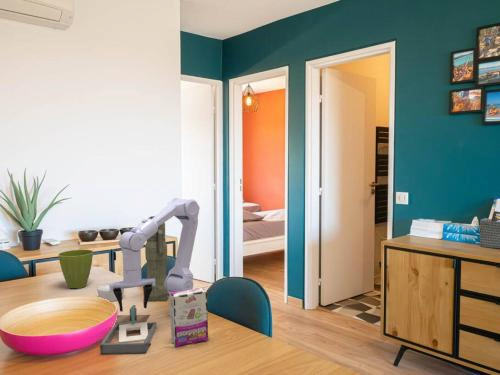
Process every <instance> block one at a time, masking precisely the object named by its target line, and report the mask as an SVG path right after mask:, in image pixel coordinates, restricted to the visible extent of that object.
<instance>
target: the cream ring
mask: <svg viewBox="0 0 500 375" xmlns="http://www.w3.org/2000/svg"><path fill="white" fill-rule="evenodd" d="M130 308H131V318H132V324H124V325H119V330H118V343H137V342H142V341H145V339H146V337H147V335H148V333H149V329H147V323H148V321H146V322H142V323H135V313H134V307H132V306H131V307H130ZM139 329H140V331H139V332H140V334H139V335H130V336H127V332H128V331H134V330H135V331H137V330H139Z"/></svg>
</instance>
